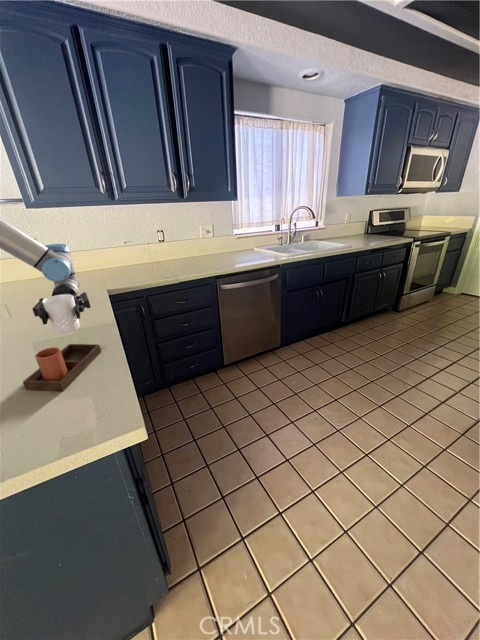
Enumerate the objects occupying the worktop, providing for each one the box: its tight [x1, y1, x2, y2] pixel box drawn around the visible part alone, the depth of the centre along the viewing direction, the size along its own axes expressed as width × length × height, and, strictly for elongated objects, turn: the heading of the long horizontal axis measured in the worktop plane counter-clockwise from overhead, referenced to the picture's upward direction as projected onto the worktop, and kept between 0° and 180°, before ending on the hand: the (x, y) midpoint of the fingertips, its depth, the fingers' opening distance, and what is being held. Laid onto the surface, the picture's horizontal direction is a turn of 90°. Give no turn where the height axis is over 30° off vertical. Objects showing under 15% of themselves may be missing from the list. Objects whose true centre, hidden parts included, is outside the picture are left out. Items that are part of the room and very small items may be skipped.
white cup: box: [42, 294, 81, 335], centre depth 80 cm, size 8×8×10 cm
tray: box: [22, 343, 102, 392], centre depth 81 cm, size 10×20×3 cm, turn 178°
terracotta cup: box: [34, 346, 68, 381], centre depth 75 cm, size 6×6×9 cm
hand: (60, 317), depth 76 cm, fingers closed on white cup, 8 cm apart
